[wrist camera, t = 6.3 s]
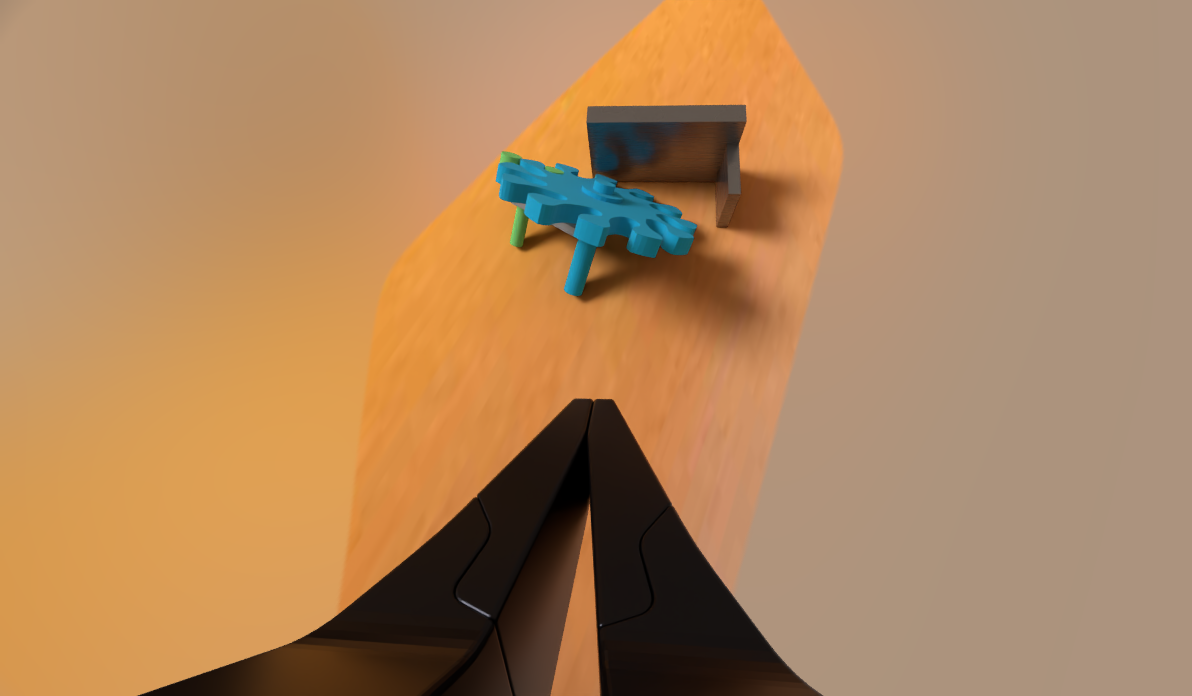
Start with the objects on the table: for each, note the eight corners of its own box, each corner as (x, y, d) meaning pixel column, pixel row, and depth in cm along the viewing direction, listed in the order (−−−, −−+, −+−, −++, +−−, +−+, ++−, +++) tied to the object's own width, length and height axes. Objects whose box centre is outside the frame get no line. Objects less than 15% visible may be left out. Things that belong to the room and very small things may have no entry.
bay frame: (727, 227, 24) (749, 173, 20) (590, 225, 25) (582, 173, 21) (725, 167, 25) (745, 104, 21) (594, 167, 26) (587, 106, 22)
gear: (730, 217, 23) (645, 237, 15) (685, 312, 26) (595, 371, 18) (569, 145, 26) (434, 130, 19) (547, 236, 30) (422, 256, 22)
